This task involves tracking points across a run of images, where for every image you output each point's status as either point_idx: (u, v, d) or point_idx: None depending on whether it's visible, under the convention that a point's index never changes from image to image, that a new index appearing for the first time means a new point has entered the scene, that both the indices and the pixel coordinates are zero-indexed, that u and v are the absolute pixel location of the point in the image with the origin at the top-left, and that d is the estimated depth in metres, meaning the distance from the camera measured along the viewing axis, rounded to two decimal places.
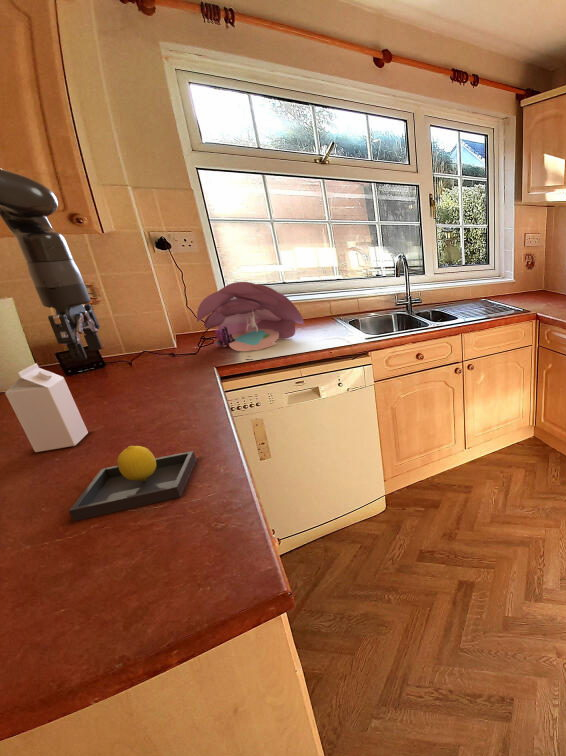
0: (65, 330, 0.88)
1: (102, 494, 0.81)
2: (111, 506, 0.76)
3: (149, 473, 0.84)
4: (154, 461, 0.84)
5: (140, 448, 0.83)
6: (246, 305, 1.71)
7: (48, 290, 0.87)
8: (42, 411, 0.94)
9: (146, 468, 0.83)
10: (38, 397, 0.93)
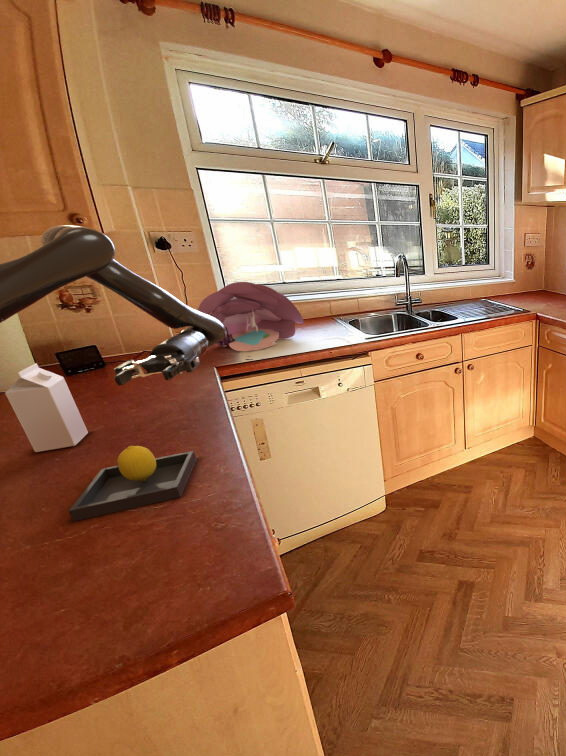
0: (195, 365, 0.96)
1: (102, 494, 0.81)
2: (111, 506, 0.76)
3: (149, 473, 0.84)
4: (154, 461, 0.84)
5: (140, 448, 0.83)
6: (246, 305, 1.71)
7: (191, 350, 1.02)
8: (42, 411, 0.94)
9: (146, 468, 0.83)
10: (38, 397, 0.93)
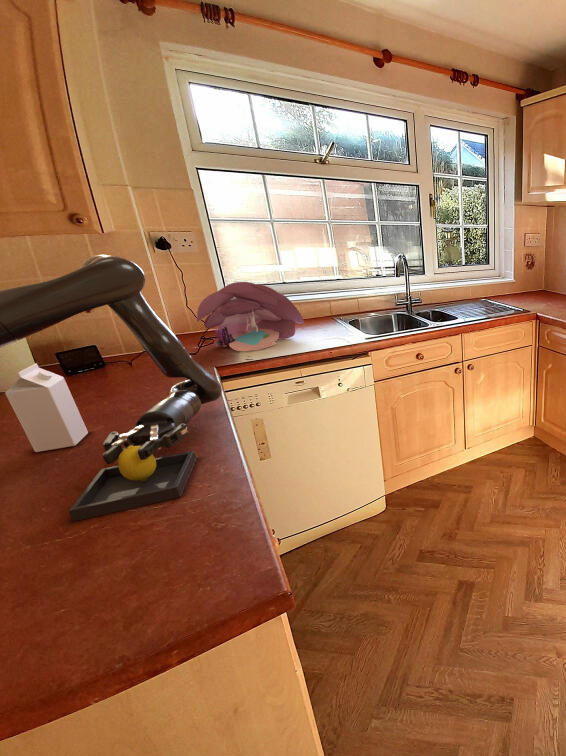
0: (178, 438, 0.88)
1: (102, 494, 0.81)
2: (111, 506, 0.76)
3: (149, 473, 0.83)
4: (154, 461, 0.84)
5: None
6: (246, 305, 1.71)
7: (182, 416, 0.95)
8: (42, 411, 0.94)
9: (146, 468, 0.83)
10: (38, 397, 0.93)
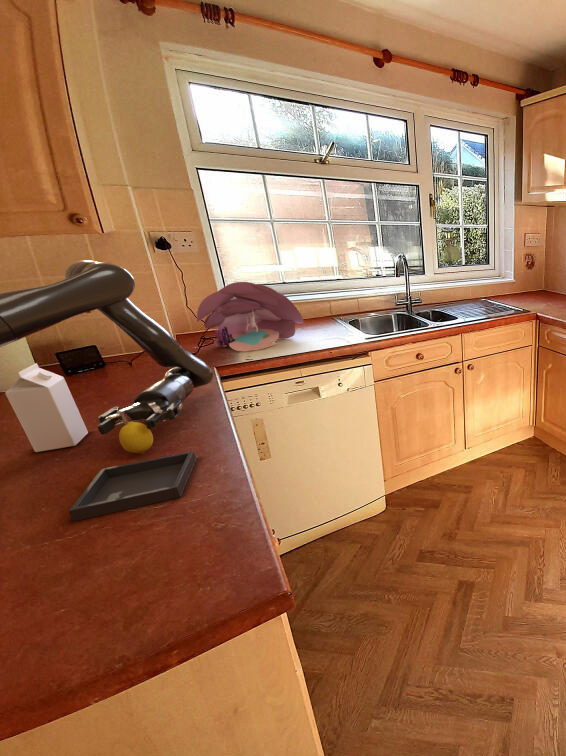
0: (178, 412, 0.99)
1: (102, 494, 0.81)
2: (111, 506, 0.76)
3: (147, 446, 0.94)
4: (151, 436, 0.95)
5: (139, 424, 0.93)
6: (246, 305, 1.71)
7: (176, 396, 1.05)
8: (42, 411, 0.94)
9: (144, 442, 0.93)
10: (38, 397, 0.93)
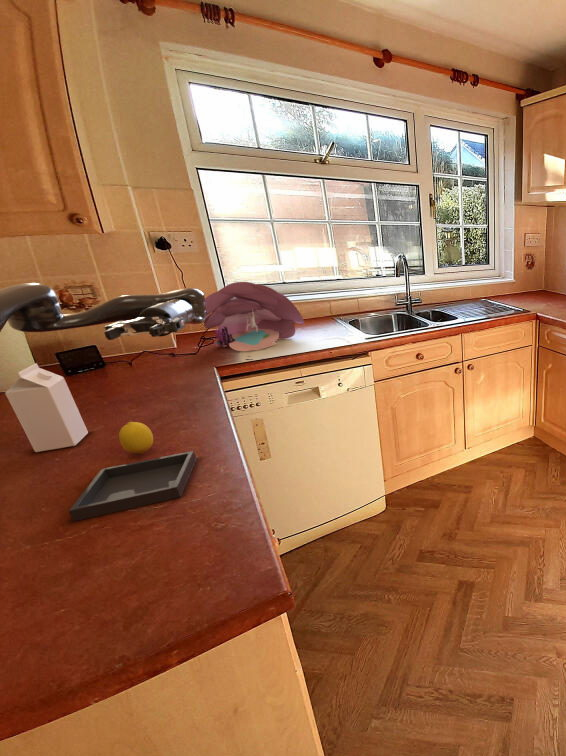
0: (180, 327, 1.04)
1: (102, 494, 0.81)
2: (111, 506, 0.76)
3: (147, 446, 0.94)
4: (151, 436, 0.95)
5: (139, 424, 0.93)
6: (246, 305, 1.71)
7: (178, 315, 1.10)
8: (42, 411, 0.94)
9: (144, 442, 0.93)
10: (38, 397, 0.93)
